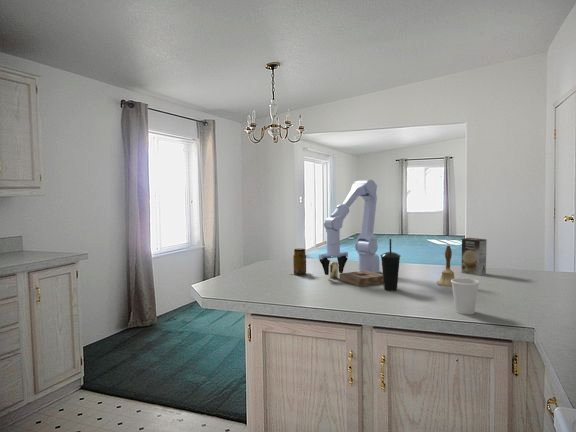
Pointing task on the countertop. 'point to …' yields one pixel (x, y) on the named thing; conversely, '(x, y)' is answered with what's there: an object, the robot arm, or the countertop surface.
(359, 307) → the countertop surface
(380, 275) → the socket block
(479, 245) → the coffee box
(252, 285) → the countertop surface
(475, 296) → the dixie cup
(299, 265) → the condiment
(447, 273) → the hand bell
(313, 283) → the countertop surface
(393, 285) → the drinking cup
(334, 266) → the pin
